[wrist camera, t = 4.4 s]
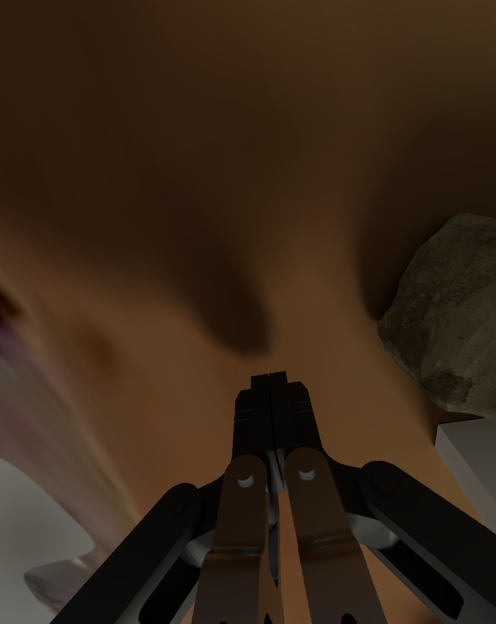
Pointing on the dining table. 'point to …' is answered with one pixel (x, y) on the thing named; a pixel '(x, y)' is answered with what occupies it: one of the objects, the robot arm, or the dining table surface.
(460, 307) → the stone block
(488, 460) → the door frame
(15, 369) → the dining table surface
